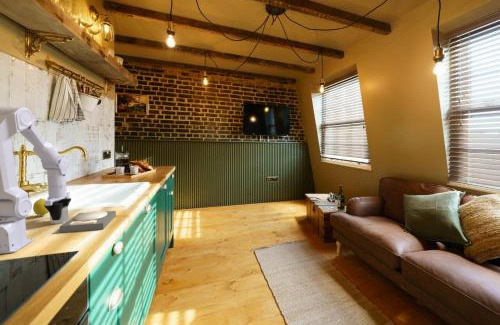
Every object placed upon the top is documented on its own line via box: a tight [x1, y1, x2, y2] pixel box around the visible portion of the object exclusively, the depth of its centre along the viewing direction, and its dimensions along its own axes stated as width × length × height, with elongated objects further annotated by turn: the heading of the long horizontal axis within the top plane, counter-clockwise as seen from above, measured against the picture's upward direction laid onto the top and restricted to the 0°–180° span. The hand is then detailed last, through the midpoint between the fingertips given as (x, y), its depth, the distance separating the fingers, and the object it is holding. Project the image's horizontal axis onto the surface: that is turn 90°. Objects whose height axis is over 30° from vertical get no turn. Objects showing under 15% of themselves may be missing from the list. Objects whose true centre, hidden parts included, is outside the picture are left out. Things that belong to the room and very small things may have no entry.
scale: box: [59, 210, 117, 234], centre depth 93 cm, size 16×14×3 cm
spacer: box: [49, 205, 70, 225], centre depth 94 cm, size 4×4×6 cm
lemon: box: [32, 198, 49, 217], centre depth 101 cm, size 6×6×8 cm
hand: (59, 218), depth 95 cm, fingers closed on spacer, 4 cm apart
